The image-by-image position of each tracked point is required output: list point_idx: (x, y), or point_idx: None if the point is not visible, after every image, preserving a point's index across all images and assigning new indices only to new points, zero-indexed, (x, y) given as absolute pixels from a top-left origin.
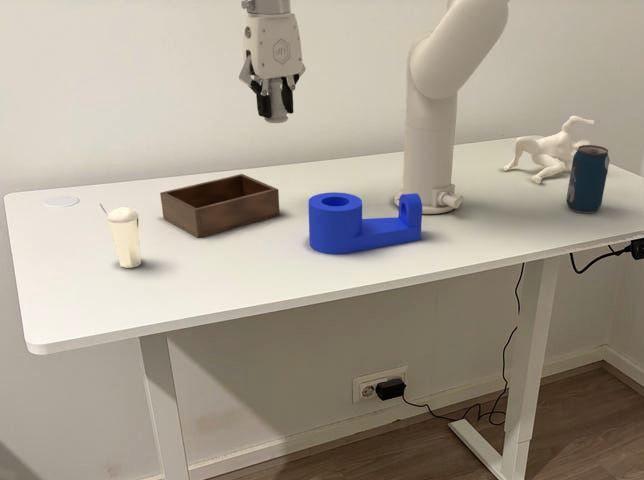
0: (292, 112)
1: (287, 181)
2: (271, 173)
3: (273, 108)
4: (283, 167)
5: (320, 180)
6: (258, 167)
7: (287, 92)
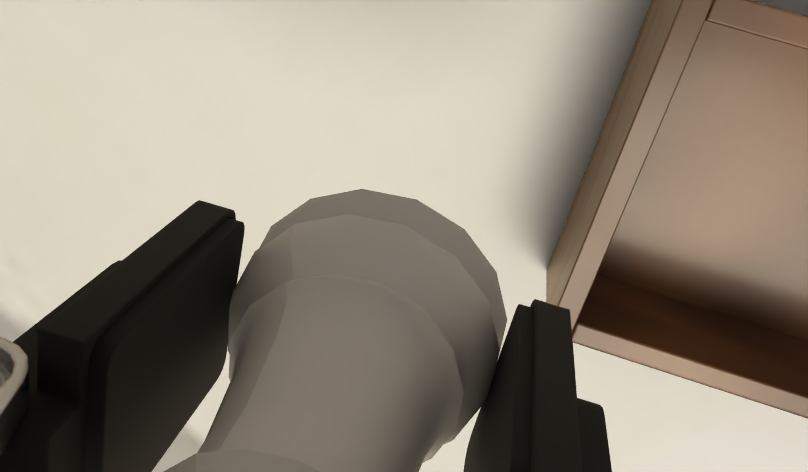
0: (213, 205)
1: None
2: None
3: (441, 356)
4: None
5: (112, 117)
6: (181, 432)
7: (109, 380)
